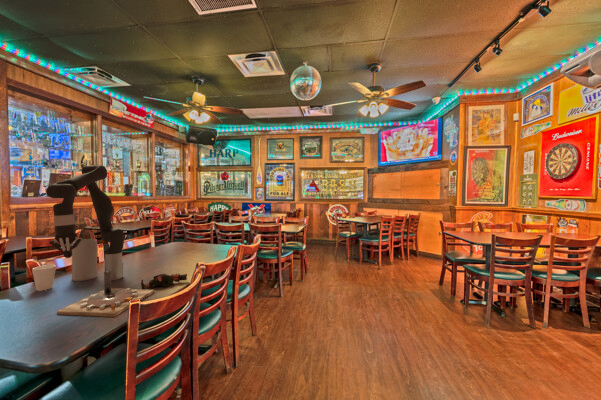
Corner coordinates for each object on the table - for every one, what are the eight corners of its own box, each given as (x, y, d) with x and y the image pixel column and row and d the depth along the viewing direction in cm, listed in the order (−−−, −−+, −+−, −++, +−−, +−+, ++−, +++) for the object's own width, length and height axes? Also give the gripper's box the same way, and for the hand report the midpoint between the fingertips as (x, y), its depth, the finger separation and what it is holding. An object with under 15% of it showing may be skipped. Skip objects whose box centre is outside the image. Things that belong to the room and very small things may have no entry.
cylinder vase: (82, 282, 153) (82, 243, 153) (66, 280, 155) (66, 242, 155) (102, 275, 166) (102, 239, 165) (86, 274, 167) (86, 238, 167)
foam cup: (28, 293, 135) (28, 270, 135) (37, 287, 144) (37, 265, 143) (52, 290, 140) (51, 268, 139) (58, 285, 148) (58, 263, 148)
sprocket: (108, 289, 138) (108, 268, 138) (148, 290, 137) (148, 269, 137) (66, 308, 115) (66, 283, 114) (113, 310, 114) (113, 284, 113)
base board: (107, 290, 141) (107, 285, 141) (154, 292, 139) (154, 287, 139) (57, 314, 113) (57, 307, 113) (114, 316, 111) (114, 310, 111)
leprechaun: (141, 281, 150) (185, 270, 164) (143, 296, 147) (187, 284, 160) (140, 276, 142) (186, 266, 155) (141, 293, 139) (188, 280, 152)
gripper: (84, 221, 127) (88, 254, 128) (52, 223, 122) (56, 257, 124) (77, 223, 120) (80, 258, 121) (42, 226, 115) (46, 261, 117)
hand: (68, 257), depth 122 cm, fingers closed
